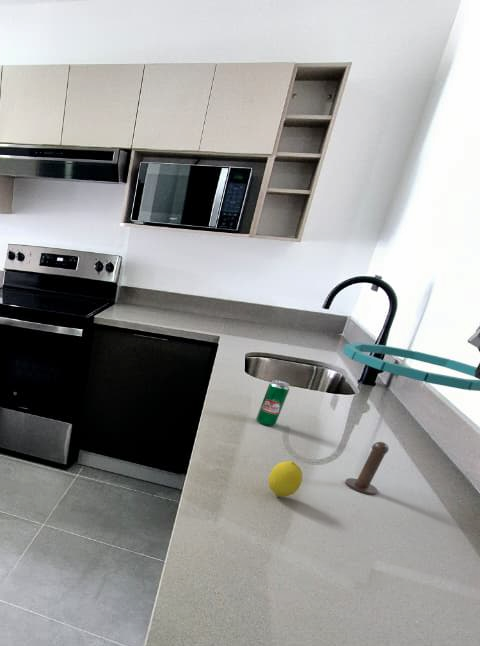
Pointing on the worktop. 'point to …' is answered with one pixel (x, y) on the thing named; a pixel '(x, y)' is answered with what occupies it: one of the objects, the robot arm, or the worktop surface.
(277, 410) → the soda can
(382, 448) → the ring toss
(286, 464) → the lemon
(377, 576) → the worktop surface
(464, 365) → the ring
